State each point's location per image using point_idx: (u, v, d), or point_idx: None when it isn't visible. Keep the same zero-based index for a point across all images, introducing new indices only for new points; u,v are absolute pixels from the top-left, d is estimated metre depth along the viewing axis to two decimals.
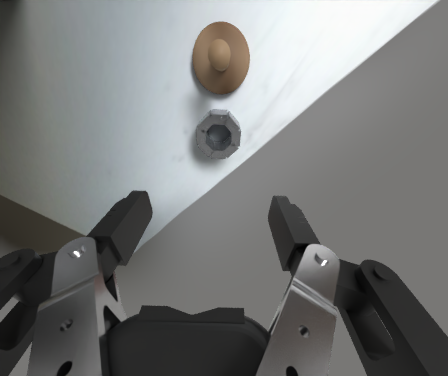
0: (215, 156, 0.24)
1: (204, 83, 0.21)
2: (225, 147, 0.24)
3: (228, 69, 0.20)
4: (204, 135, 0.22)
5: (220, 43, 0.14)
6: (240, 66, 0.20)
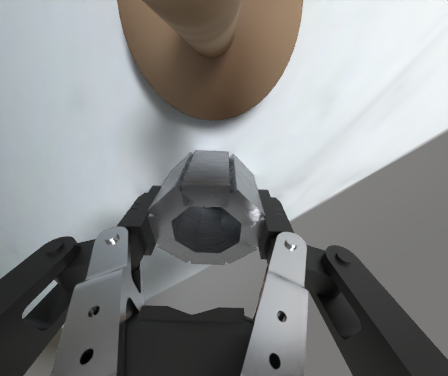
0: (202, 261, 0.10)
1: (165, 93, 0.08)
2: (225, 241, 0.10)
3: (233, 51, 0.07)
4: (170, 226, 0.09)
5: None
6: (271, 42, 0.07)
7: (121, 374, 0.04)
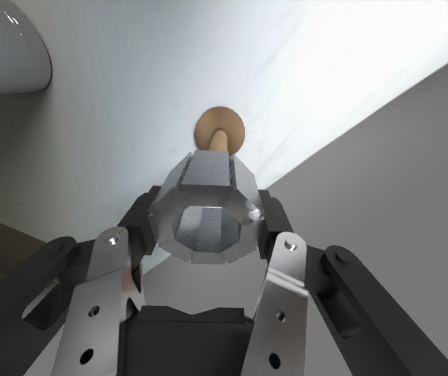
0: (202, 261, 0.10)
1: None
2: (225, 240, 0.10)
3: (226, 140, 0.23)
4: (170, 226, 0.09)
5: (218, 147, 0.17)
6: (237, 138, 0.23)
7: (121, 374, 0.04)
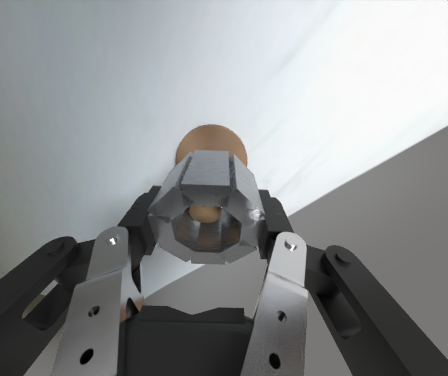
0: (202, 261, 0.10)
1: None
2: (225, 240, 0.10)
3: None
4: (170, 226, 0.09)
5: None
6: None
7: (121, 374, 0.04)
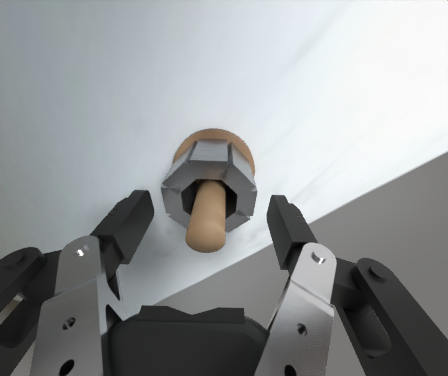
0: None
1: None
2: None
3: None
4: (179, 197, 0.11)
5: (207, 230, 0.08)
6: None
7: None
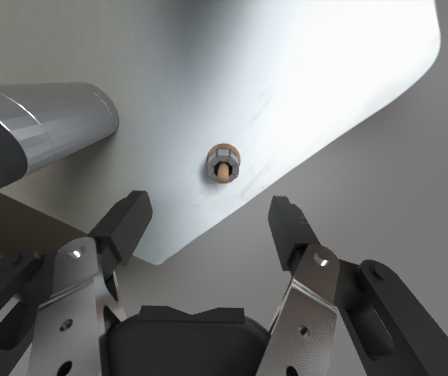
0: None
1: None
2: None
3: (228, 164, 0.35)
4: (213, 168, 0.31)
5: (223, 174, 0.28)
6: None
7: None
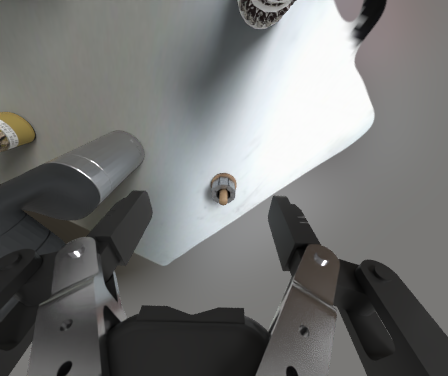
0: None
1: None
2: (227, 197, 0.43)
3: None
4: (215, 193, 0.41)
5: (223, 199, 0.38)
6: None
7: None
